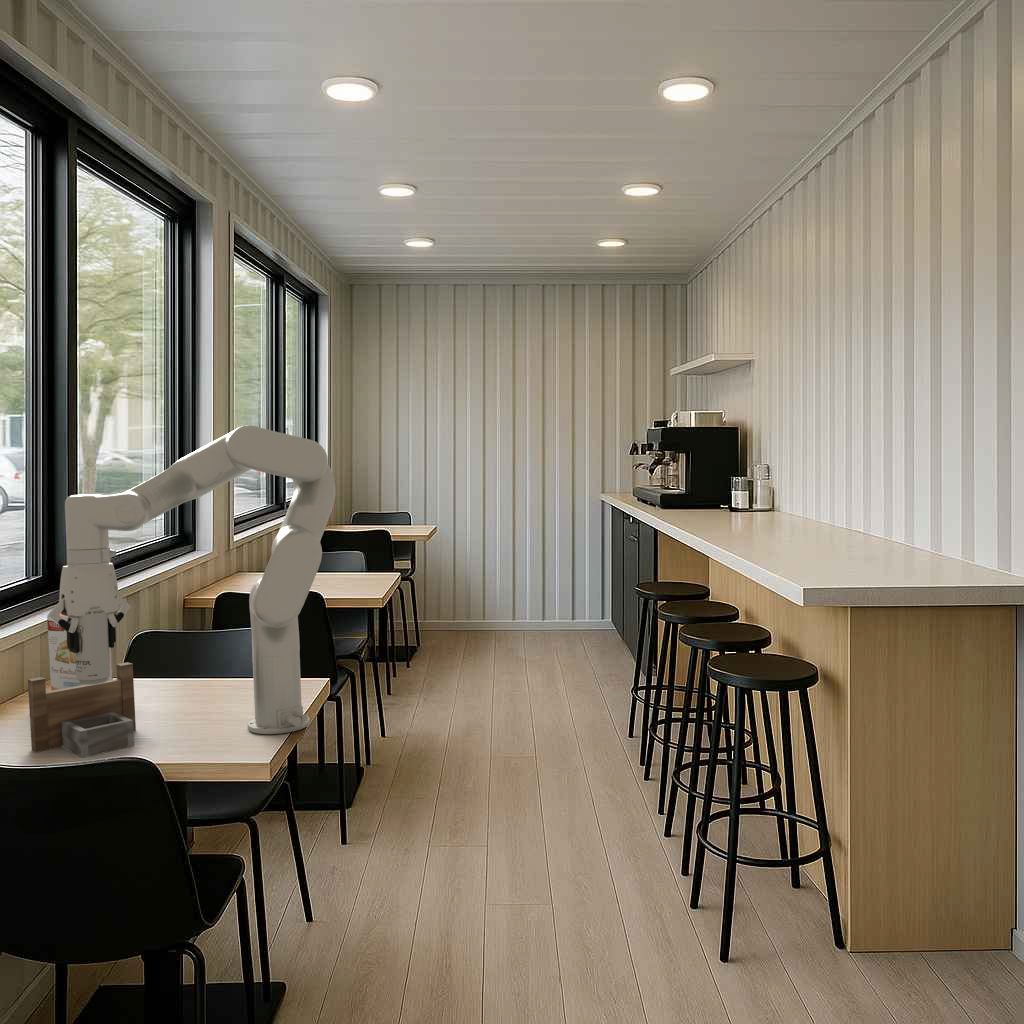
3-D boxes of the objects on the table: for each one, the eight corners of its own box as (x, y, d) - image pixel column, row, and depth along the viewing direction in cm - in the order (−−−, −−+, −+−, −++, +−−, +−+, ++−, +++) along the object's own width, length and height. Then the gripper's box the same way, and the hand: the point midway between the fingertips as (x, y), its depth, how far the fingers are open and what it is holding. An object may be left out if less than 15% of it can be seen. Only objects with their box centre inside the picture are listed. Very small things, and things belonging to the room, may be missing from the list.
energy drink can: (70, 682, 186) (67, 606, 185) (100, 676, 191) (97, 602, 190) (86, 686, 182) (82, 609, 181) (116, 680, 187) (113, 605, 186)
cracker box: (50, 702, 224) (45, 614, 223) (70, 696, 230) (66, 610, 229) (95, 706, 219) (90, 616, 218) (115, 700, 225) (110, 612, 223)
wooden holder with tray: (158, 739, 191) (154, 670, 190) (55, 763, 177) (51, 689, 176) (131, 728, 200) (127, 662, 199) (31, 749, 186) (27, 679, 185)
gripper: (124, 553, 194) (128, 640, 195) (34, 560, 182) (38, 653, 183) (140, 555, 189) (143, 645, 190) (48, 562, 176) (52, 659, 177)
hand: (92, 648), depth 186 cm, fingers closed on energy drink can, 6 cm apart
